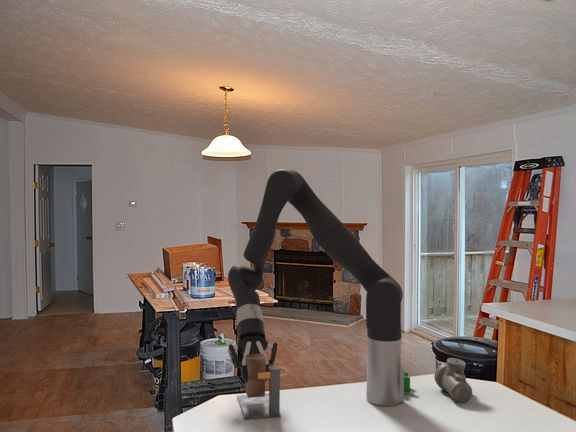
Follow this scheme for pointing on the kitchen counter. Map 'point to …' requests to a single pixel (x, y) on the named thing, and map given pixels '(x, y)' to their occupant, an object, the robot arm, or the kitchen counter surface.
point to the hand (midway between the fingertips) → (256, 380)
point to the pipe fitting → (453, 379)
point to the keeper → (263, 398)
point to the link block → (255, 375)
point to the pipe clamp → (406, 382)
